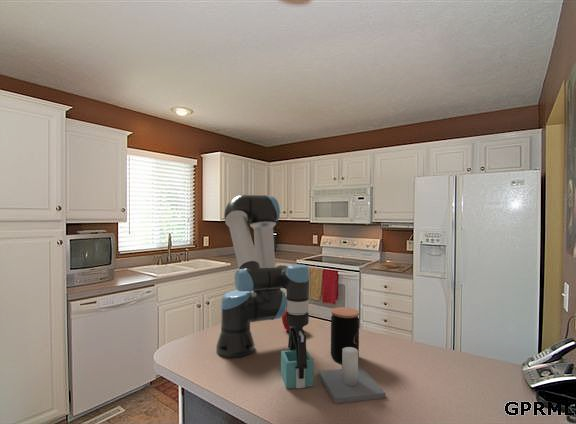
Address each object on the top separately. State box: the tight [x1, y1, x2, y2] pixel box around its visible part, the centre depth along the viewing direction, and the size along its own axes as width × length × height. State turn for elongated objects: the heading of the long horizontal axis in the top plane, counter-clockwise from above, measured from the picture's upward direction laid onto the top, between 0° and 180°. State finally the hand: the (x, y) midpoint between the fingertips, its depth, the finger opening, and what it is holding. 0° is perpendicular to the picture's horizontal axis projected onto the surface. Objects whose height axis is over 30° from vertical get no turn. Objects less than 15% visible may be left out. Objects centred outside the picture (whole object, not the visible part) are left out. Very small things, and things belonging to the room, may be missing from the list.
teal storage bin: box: [280, 348, 315, 389], centre depth 104 cm, size 9×9×8 cm
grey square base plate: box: [318, 347, 386, 404], centre depth 100 cm, size 16×16×12 cm
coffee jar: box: [330, 306, 360, 364], centre depth 120 cm, size 11×11×18 cm
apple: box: [281, 310, 289, 333], centre depth 147 cm, size 10×10×11 cm
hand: (296, 379), depth 103 cm, fingers open, 9 cm apart
